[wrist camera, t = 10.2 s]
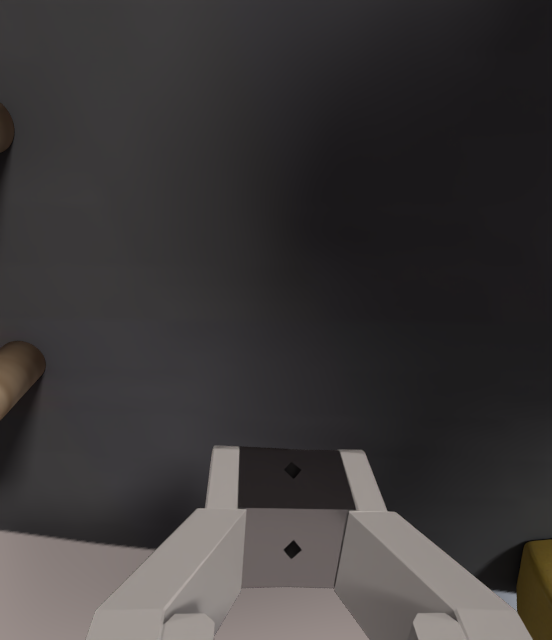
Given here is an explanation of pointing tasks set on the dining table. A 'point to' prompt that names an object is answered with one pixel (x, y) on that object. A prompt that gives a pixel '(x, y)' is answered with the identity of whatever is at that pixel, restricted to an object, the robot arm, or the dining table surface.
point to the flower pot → (536, 589)
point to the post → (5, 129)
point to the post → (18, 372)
